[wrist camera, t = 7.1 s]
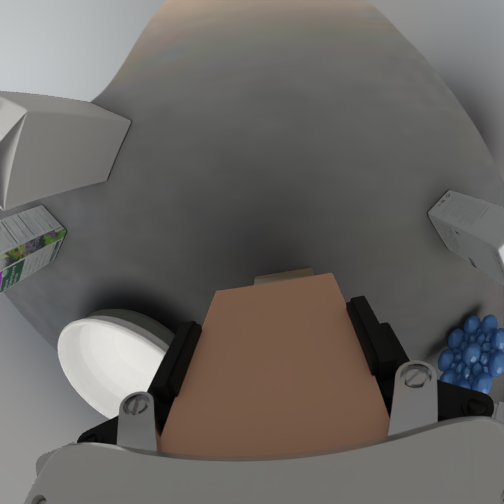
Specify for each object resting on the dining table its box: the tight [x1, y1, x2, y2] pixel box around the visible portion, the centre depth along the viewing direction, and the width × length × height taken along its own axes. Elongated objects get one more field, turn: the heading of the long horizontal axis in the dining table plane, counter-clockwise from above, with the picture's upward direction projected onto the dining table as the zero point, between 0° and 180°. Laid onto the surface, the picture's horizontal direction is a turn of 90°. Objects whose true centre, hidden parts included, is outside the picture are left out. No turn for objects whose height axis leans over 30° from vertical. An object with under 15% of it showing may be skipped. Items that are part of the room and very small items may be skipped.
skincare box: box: [428, 190, 504, 287], centre depth 20 cm, size 6×4×12 cm
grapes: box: [438, 315, 504, 394], centre depth 25 cm, size 12×7×12 cm, turn 136°
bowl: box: [58, 309, 175, 419], centre depth 31 cm, size 19×19×8 cm
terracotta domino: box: [161, 273, 390, 456], centre depth 10 cm, size 2×6×10 cm, turn 101°
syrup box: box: [0, 205, 66, 294], centre depth 23 cm, size 6×6×14 cm
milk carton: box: [0, 91, 131, 211], centre depth 17 cm, size 7×7×19 cm
